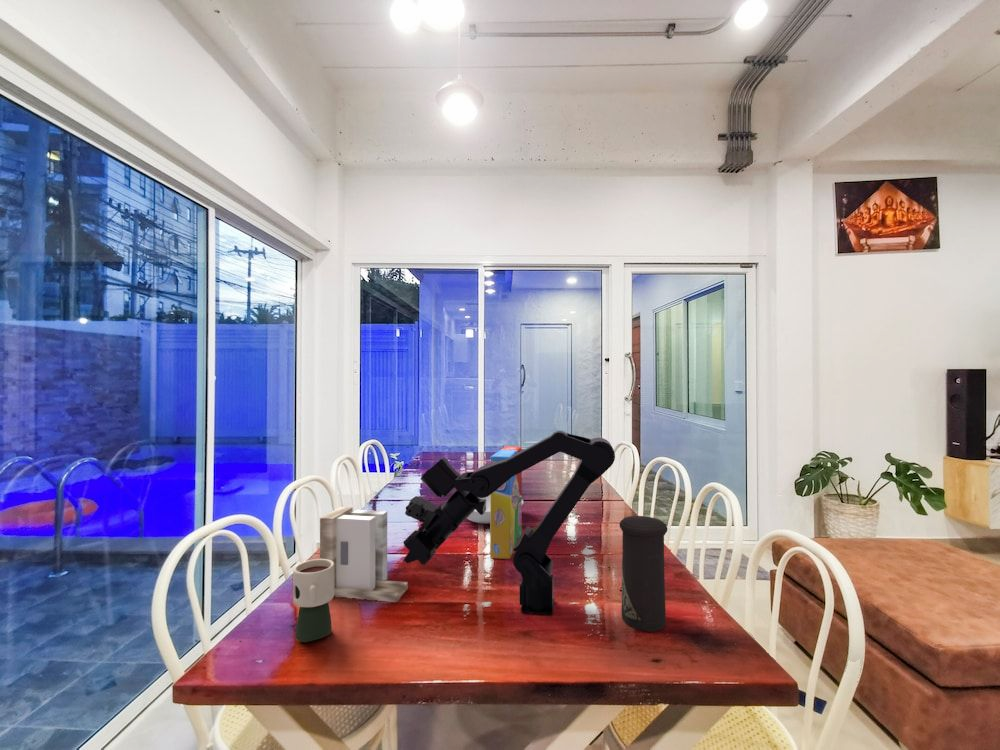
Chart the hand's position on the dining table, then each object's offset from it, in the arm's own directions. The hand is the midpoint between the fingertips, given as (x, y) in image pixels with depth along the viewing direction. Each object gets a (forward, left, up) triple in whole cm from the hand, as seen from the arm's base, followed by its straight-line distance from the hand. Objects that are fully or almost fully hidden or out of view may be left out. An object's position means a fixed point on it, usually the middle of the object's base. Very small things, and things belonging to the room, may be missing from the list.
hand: (406, 561), depth 101 cm
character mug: (+11, +18, -8) cm, 22 cm away
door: (+12, 0, -8) cm, 14 cm away
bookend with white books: (+10, -2, -8) cm, 13 cm away
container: (-50, +2, -8) cm, 51 cm away
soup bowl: (-7, -56, -8) cm, 57 cm away
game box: (-17, -34, -8) cm, 39 cm away
